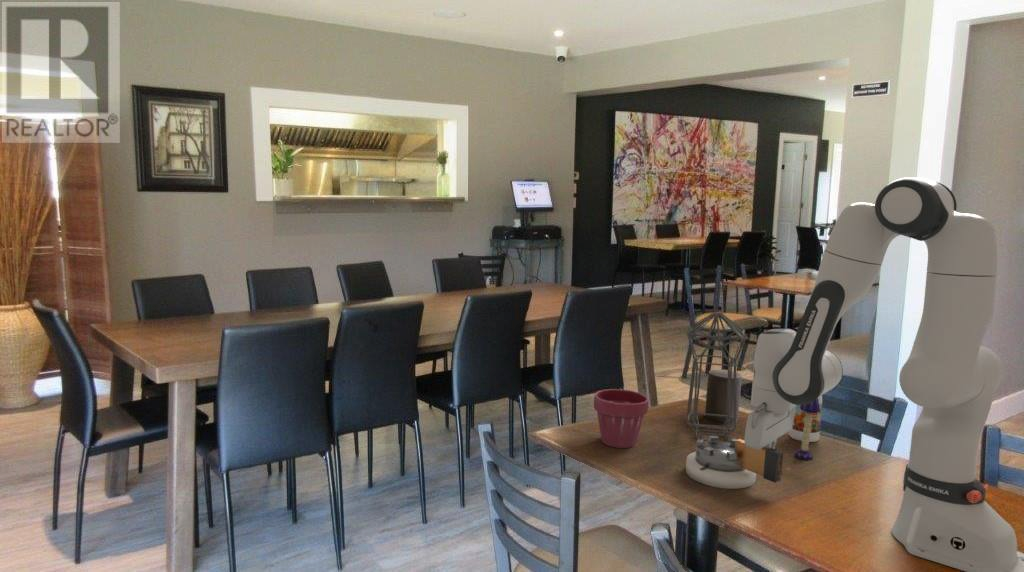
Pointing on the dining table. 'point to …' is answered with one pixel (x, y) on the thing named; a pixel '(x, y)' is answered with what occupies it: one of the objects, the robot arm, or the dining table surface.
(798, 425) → the milk bottle
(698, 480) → the white round plate
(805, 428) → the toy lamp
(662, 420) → the dining table surface
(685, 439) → the dining table surface
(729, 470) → the lugged steel disc
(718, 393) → the pillar candle
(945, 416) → the robot arm
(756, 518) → the dining table surface
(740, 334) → the geometric lantern
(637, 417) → the plant pot
